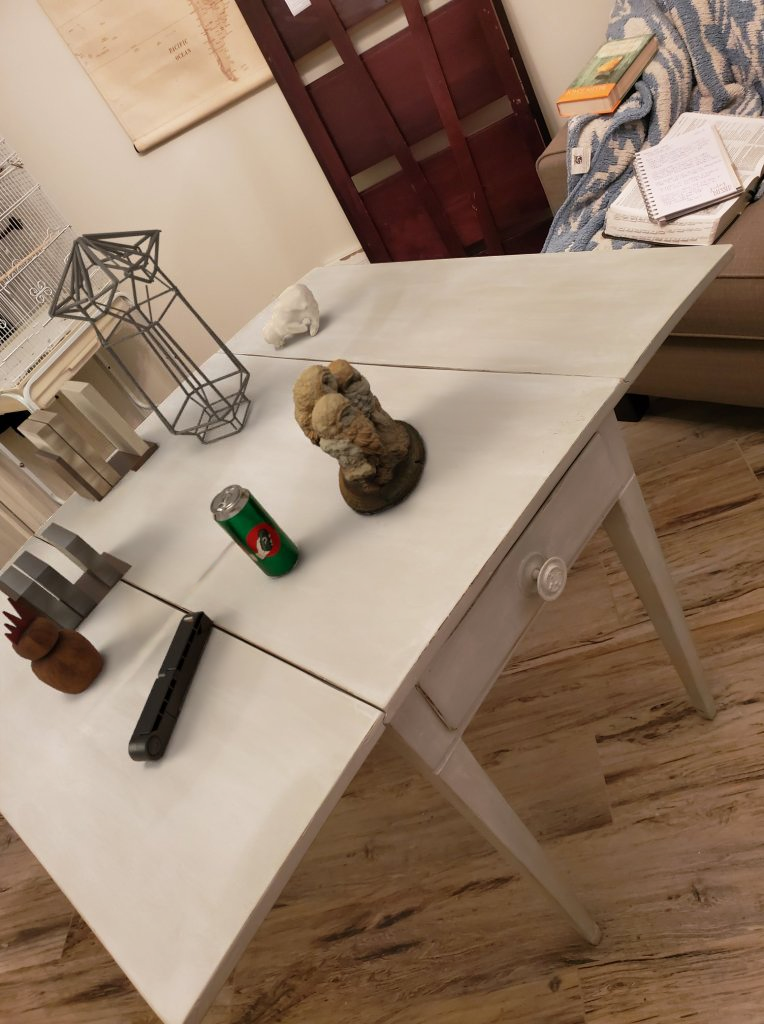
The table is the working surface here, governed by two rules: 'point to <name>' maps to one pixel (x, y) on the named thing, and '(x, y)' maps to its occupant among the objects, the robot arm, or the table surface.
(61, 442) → the wooden book holder
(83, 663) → the wooden figurine
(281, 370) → the table surface
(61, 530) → the grey rack
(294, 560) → the soda can
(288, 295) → the white lumpy piece
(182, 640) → the tablet stand
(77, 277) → the geometric lantern
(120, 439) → the cream rectangular block
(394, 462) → the tan stone sculpture
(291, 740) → the table surface
